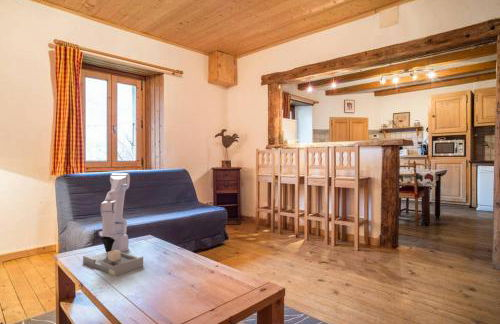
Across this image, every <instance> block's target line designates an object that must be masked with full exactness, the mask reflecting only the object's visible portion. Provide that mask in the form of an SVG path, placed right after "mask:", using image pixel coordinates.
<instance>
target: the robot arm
mask: <svg viewBox="0 0 500 324" xmlns="http://www.w3.org/2000/svg"><path fill="white" fill-rule="evenodd" d="M109 182H110V185H111V186H110V190H109V191H108V192H107V193H106V196H105V199H104V201H103V202H101V203H100V215H101V218H102V221H101V224H102V225H101V226H102V229H101V231H98V236H99V237H101V238H100V240H101V242H102V244H103V247H104V250H105V253H107V252H109V251H111V249H113V250H119V251H121V252H122V253H124V252H126V251H129V250H130V248H129V236H128V234H127V230H128V227H127V223H128V221H127V220H126V219H124V218H123V213H124V204H125V195H126V191H127V190H128V189H129V188H130V182H131V176H130V173H113V172H112V173H111V174H110V176H109Z"/></svg>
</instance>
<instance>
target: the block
mask: <svg viewBox="0 0 500 324" xmlns="http://www.w3.org/2000/svg"><path fill="white" fill-rule="evenodd" d="M119 259H121V251H119V250H112V251H109V252H108V260H110V261H116V260H119Z"/></svg>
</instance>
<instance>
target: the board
mask: <svg viewBox="0 0 500 324" xmlns="http://www.w3.org/2000/svg"><path fill="white" fill-rule="evenodd" d="M112 250H113V249H111V251H112ZM82 259H83V260H82V262H83V264H84V265H87V266H90V267H93V268H95V269H98V270H100V271H102V272H105V273H107V274H110V275H112V276H114V277H116V276H120V275H123V274H125V273H128V272H131V271H134V270H137V269H140V268H143V267H144V256H140V257H138V256H136V255H132V254H128V253H125V252H121V259H119V260H116V261H110V260H108V252H104V253H100V254H99V253H98V254H97V255H92V256H89V255H83V256H82Z"/></svg>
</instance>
